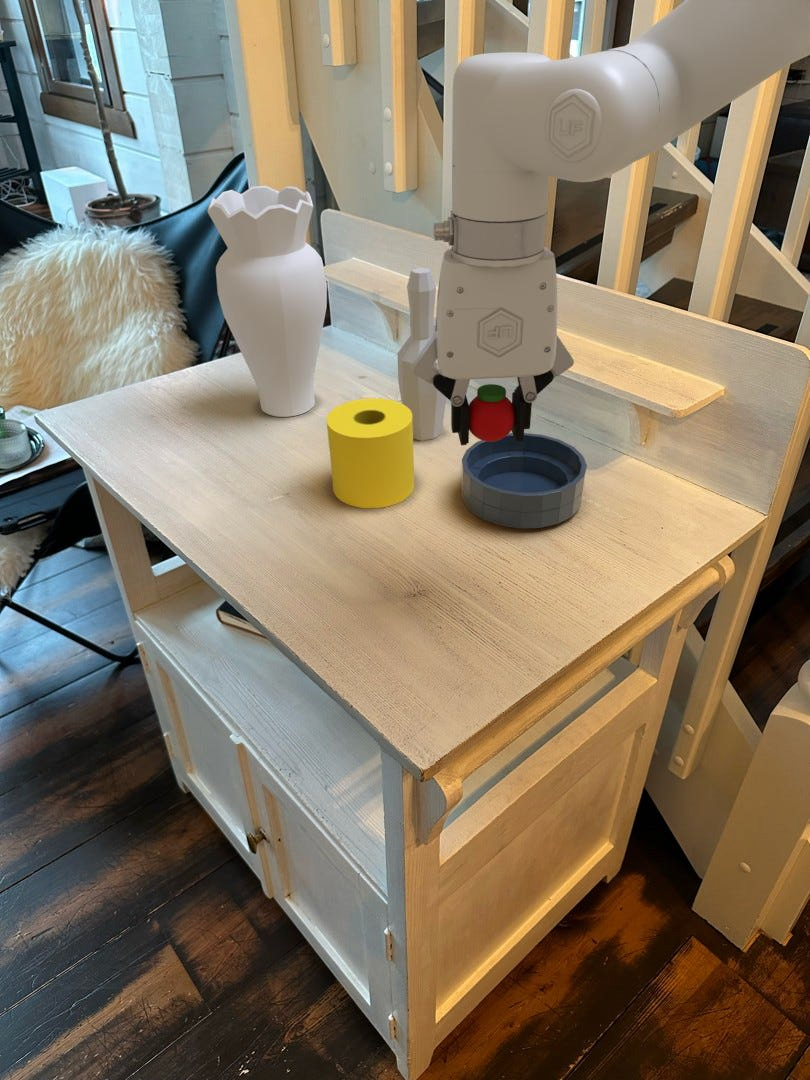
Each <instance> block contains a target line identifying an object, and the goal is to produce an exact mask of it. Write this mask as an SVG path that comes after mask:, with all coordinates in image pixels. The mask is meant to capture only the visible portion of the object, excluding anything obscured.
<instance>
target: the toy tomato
mask: <svg viewBox="0 0 810 1080" xmlns="http://www.w3.org/2000/svg"><path fill="white" fill-rule="evenodd" d="M476 391H477V393H476V396H475V397H473V399H472V400H471V401H470V403H468V404H469V409H470V412H469V433H471V434H472V435H473V436H474V437H475V438H476V439H478V440H479V441H481V440H483V441H487V442H493V441H498V440H500V439H502V438H504V437H505V436H507V435H508V434H509V433H511V432H512V431H511V430H512V428H513V426H514V423H515V409H514V406H513V404H512V400H510V399H509V398H508V396H507V389H506V388H505V387H504V386H502V385H500V384H494V383H487V384H483V385H480V386H479V387H478V388H477V390H476Z"/></svg>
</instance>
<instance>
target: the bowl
mask: <svg viewBox="0 0 810 1080" xmlns="http://www.w3.org/2000/svg"><path fill="white" fill-rule="evenodd" d="M587 468H588V464H587V462H586V459H585V457H584V455H583V454H582V453H581V452H580V451H579V449H577V448H575V446H573V445H571V444H569V443H567V442H565V441H564V440H561V439H559V438H555V437H551V436H548V435H544V434H538V433H531V432H524V440H523V442H517V441H515V439H514V436H513V433H512V432H510V433H509V434H508V435H507V436H505V437H504V438H502V439H500V440H498V441H493V442H487V441H483V440H478V441H476V442H475V443H473V444H472V445H471V446H470V447H468V448H467V449H466V450H465V452H464V454H463V456H462V458H461V479H460V480H461V482H460V489H461V491H460V493H461V501H462V502H463V504H464V505H465V506H466V508H467V509H468V510H469V512H471V513H473V515H475V516H477V517H479V518H480V519H481V520H484V521H486V522H489V523H492V524H495V525H498V526H501V527H507V528H514V529H541V528H545V527H546V528H547V527H550V526H554V525H558V524H561V523H562V522H564V521H567V520H568V519H570V518H572V517H574V515H575V514H576V513H577V512H578V511H579V510H580V509H581V507H582V503H583V499H584V493H585V492H584V491H585V485H586V478H587V470H588V469H587Z"/></svg>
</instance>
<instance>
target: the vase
mask: <svg viewBox="0 0 810 1080" xmlns="http://www.w3.org/2000/svg"><path fill="white" fill-rule="evenodd" d="M313 210H314V204H313V200H312V196H311V194H310V192H308V190H307V191H305V192H304V191H302V190H301V189H300V188H299V187H298V186H291V185H285V187H284V188H282V189H280V190H276V189H274V188H272V187H269V186H268V185H256V186H252V187H250V188H248V189H246V190H245V191H244V192H242V193H240V192H237V191H235V190H233V189H229V190H226V191H222V192H221V193H220V194H219V195H218V196H217V197H216V198H215V197H212V198H211V200H210V202H209V205H208V207H207V211H206V212H207V214H208V216H209V217H210V219H211V221H212V223H213V224H214V226H215V228H216V229H217V231H218V233H219V235H220V238H222V240H223V242H224V244H225V246H226V247H227V249H226V250H225V251H224V252H223V254H222V255H221V256H220V257H219V259H218V261H217V264H216V266H215V276H216V289H217V290H216V291H217V296H218V300H219V304H220V307H221V311H222V314H223V317H224V319H225V321H226V324H227V326H228V328H229V330H230V332H231V334H232V336H233V338H234V340H235V343H236V344H237V347H238V349H239V351H240V353H241V354H242V358H243V359H244V361H245V364H246V365H247V368H248V370H249V372H250V375H251V376H252V379H253V380H254V382H255V385H256V388H257V391H258V396H259V398H258V399H259V404H260V409H261V410H262V412H264V413H265V414H267V415H268V416H272V417H276V418H277V417H278V418H289V417H295V416H296V417H297V416H300V415H302V414H305V413H308V412H309V411H310V410H311V409H313V407H314V406H315V404H316V399H315V390H314V380H315V379H314V378H315V372H316V367H317V361H318V356H319V350H320V346H321V340H322V334H323V329H324V323H325V317H326V313H327V306H328V305H327V304H328V284H327V278H326V273H325V266H324V263H323V258H322V257H321V255H320V254H319V253H318V252H317V250H316V249H315V248H314V247H312V246H311V245H310V244H309V243H307V232H308V229H309V225H310V221H311V218H312V214H313Z"/></svg>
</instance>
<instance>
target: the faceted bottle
mask: <svg viewBox="0 0 810 1080" xmlns="http://www.w3.org/2000/svg"><path fill="white" fill-rule="evenodd" d="M406 290H407V291H406V292H407V297H408V304H409V323H410V324H409V325H410V326H409V327H410V329H409V330H410V336H409V337H408V338H407V340H406V341H405V342H404V343H403V345H402V346H401V348H400V349H399V350H398V352H397V376H398V377H397V378H398V388H399V394H400V398H401V404H403V405H405V406H407V407H408V408H409V409H410V410H411V412H412V420H413V440H414V439H415V440H418V441H427V440H434V439H435V438H437V437H439V436H440V435H441V434H442V433H443V425H444V419H445V411H446V405H447V404H446V402H447V398H446V397H445V396H444V395H443V394H442V393H441V392H440V391H438V390H437V389H436V388H435V387H434V385H432V384H431V383H428V382H427V381H425V380H423V379H422V378H420V377H419V376H417V375H415V374H414V372H413V362H414V361H415V359H416V358H417V357H418V355H419V354H420V352H421V351H422V350H423V348H424V347H425V345H426V344H427V343H428V341H429V340H430V338H431V337H432V336H433V334H434V333H435V303H436V293H437V286H436V283H435V280H434V277H433V272H432V270H431V269H430V268H427V267H415V268H413V269H411V271H410V274H409V278H408V280H407V285H406ZM433 366H435V367H436V368H437V369H439V365H438V360H437V359H436V361H435V362H434V364H433ZM439 370H440V369H439Z"/></svg>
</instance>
